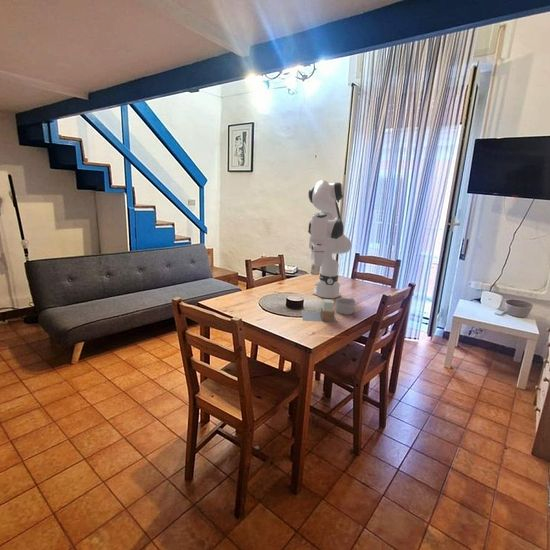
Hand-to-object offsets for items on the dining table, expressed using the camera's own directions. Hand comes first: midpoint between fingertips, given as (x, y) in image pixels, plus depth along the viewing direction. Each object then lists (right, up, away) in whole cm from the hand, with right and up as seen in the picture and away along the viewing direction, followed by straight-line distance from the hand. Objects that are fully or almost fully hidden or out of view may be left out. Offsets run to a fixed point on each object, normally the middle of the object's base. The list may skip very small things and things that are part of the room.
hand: (315, 271), depth 173 cm
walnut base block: (+6, -25, +1) cm, 26 cm away
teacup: (+19, -24, +14) cm, 34 cm away
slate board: (+2, -25, +4) cm, 26 cm away
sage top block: (+6, -21, -1) cm, 22 cm away
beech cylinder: (0, -2, 0) cm, 2 cm away
